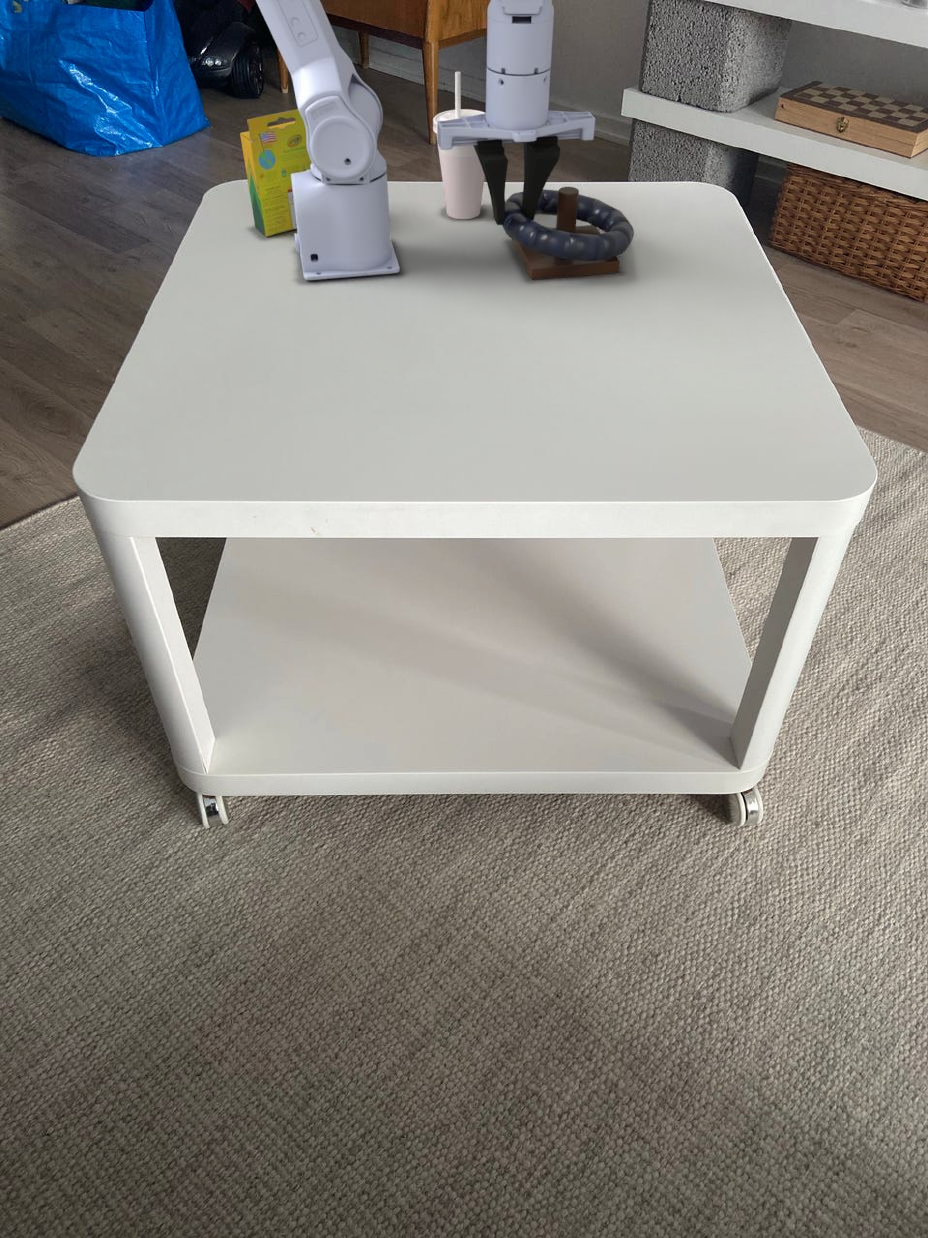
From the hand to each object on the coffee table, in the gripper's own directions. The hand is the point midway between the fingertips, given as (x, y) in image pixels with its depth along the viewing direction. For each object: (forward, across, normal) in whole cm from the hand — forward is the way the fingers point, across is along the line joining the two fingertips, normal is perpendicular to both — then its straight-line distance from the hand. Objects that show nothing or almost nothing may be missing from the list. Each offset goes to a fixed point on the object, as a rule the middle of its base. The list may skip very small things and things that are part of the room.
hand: (513, 219), depth 96 cm
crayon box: (+4, -22, +13) cm, 26 cm away
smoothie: (+4, -2, +13) cm, 14 cm away
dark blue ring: (+1, +6, 0) cm, 6 cm away
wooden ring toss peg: (+4, +6, 0) cm, 7 cm away
